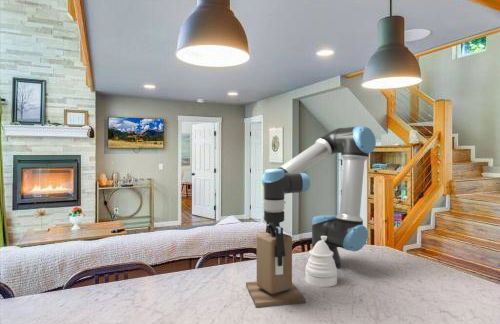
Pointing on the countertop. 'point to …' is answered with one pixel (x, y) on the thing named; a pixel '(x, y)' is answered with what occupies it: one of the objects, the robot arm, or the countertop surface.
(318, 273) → the honey pot
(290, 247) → the wooden block
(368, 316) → the countertop surface
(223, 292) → the countertop surface
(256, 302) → the walnut board
